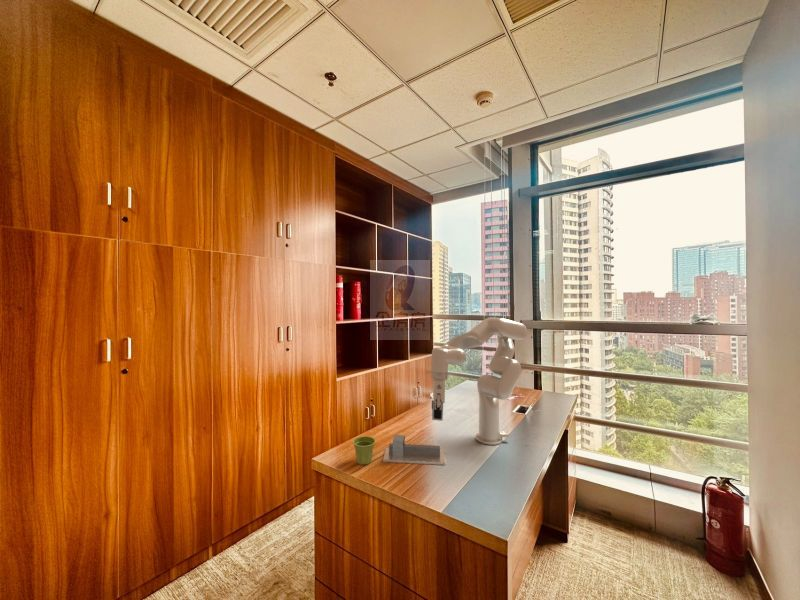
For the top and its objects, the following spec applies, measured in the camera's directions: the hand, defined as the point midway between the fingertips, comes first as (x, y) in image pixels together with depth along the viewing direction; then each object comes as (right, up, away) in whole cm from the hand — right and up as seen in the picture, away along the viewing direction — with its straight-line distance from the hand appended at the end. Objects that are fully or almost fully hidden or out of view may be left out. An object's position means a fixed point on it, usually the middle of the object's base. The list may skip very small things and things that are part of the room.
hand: (437, 415), depth 141 cm
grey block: (0, -1, 0) cm, 1 cm away
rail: (-10, -16, -4) cm, 20 cm away
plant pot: (-32, -16, -8) cm, 37 cm away
